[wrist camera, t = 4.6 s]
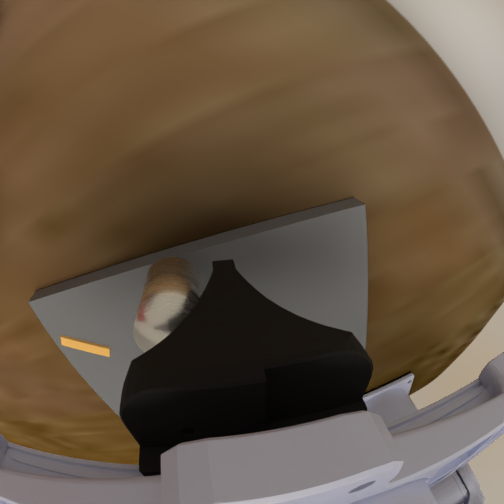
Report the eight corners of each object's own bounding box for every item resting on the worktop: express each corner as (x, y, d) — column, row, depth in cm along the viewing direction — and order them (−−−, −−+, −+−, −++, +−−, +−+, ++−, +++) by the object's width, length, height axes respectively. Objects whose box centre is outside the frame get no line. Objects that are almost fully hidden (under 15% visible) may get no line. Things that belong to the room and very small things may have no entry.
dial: (302, 388, 19) (322, 441, 15) (184, 417, 19) (186, 472, 14) (263, 216, 13) (295, 268, 9) (84, 272, 12) (49, 336, 8)
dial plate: (356, 379, 22) (362, 390, 21) (147, 431, 21) (146, 443, 20) (354, 197, 15) (367, 205, 13) (36, 290, 14) (26, 304, 12)
